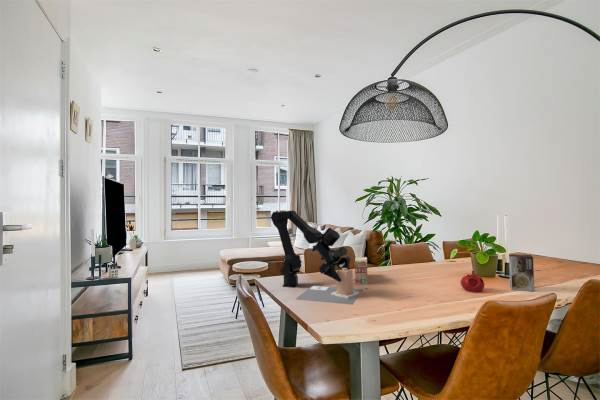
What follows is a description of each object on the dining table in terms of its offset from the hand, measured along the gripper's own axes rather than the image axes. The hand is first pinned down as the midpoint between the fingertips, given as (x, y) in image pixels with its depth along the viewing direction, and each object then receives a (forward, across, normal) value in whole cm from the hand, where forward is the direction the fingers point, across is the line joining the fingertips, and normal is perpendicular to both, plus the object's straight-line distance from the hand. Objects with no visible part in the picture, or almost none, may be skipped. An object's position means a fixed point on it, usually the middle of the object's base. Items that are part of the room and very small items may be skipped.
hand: (346, 279), depth 149 cm
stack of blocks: (-2, +33, +14) cm, 36 cm away
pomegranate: (+35, +45, -24) cm, 61 cm away
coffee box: (+47, +61, -36) cm, 85 cm away
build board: (+1, -3, +10) cm, 11 cm away
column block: (+4, 0, +5) cm, 7 cm away
